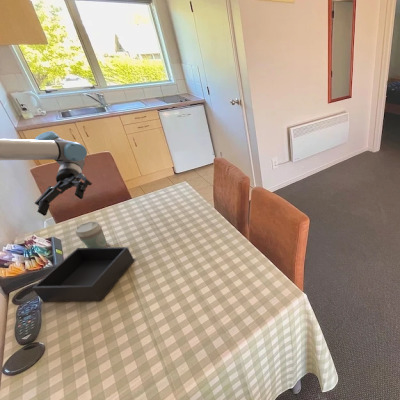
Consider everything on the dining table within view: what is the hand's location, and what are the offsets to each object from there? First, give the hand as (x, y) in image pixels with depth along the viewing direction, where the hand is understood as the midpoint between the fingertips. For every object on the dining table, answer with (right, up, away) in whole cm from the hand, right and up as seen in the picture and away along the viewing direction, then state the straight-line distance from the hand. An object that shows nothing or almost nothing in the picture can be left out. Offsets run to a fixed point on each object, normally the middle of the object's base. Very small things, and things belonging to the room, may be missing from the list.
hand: (60, 204), depth 102 cm
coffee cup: (+5, -19, +12) cm, 23 cm away
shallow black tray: (+14, -28, -2) cm, 31 cm away
